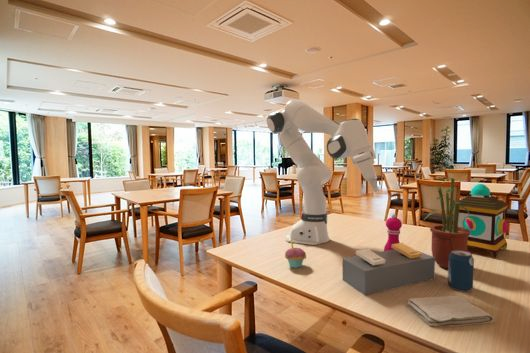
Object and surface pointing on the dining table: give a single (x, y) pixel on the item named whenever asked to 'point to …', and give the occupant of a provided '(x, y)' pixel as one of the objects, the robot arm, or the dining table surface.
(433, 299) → the washcloth
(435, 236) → the potted plant
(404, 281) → the grey rectangular block
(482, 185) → the decorative lantern
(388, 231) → the pepper mill
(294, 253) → the cupcake
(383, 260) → the cream rocker
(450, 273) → the soda can
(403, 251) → the bar
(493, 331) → the dining table surface
